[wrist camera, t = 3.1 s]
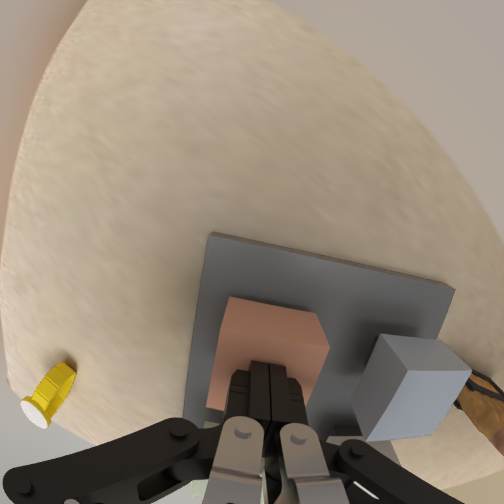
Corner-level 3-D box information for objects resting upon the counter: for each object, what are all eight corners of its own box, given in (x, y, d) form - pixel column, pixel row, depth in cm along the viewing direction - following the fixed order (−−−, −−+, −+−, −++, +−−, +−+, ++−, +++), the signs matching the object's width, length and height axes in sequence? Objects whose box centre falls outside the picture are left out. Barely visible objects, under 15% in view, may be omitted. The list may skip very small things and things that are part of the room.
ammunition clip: (425, 370, 18) (501, 474, 6) (439, 351, 17) (525, 450, 6) (479, 393, 19) (537, 463, 7) (490, 378, 18) (552, 446, 7)
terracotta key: (315, 313, 15) (330, 347, 11) (292, 380, 16) (298, 421, 12) (229, 296, 14) (220, 327, 11) (215, 367, 15) (205, 406, 12)
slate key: (441, 339, 13) (472, 370, 10) (410, 400, 14) (431, 435, 11) (380, 333, 13) (407, 370, 10) (349, 399, 14) (365, 441, 11)
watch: (63, 346, 19) (23, 381, 13) (88, 367, 19) (53, 407, 13) (50, 385, 19) (18, 419, 13) (72, 404, 20) (43, 441, 14)
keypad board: (446, 283, 16) (479, 303, 12) (355, 457, 20) (364, 487, 16) (212, 231, 16) (198, 245, 12) (182, 440, 20) (173, 473, 16)
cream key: (387, 434, 15) (402, 469, 12) (360, 470, 16) (369, 502, 13) (329, 436, 15) (339, 476, 12) (306, 471, 16) (311, 507, 13)
